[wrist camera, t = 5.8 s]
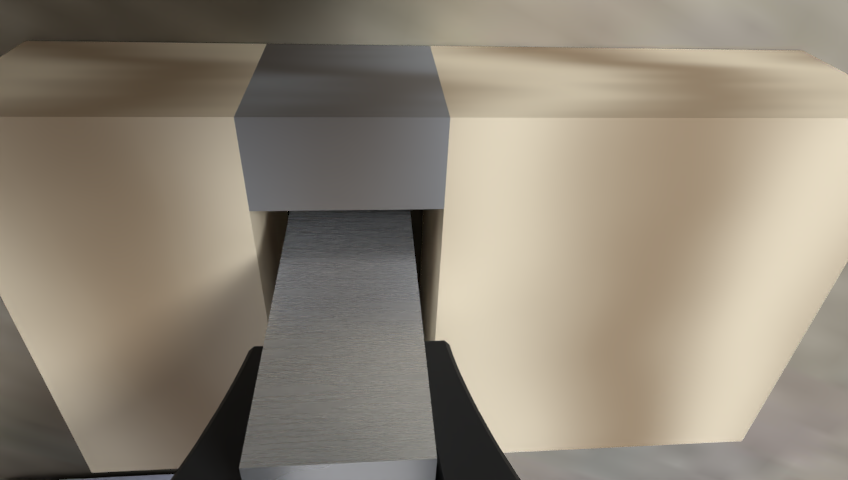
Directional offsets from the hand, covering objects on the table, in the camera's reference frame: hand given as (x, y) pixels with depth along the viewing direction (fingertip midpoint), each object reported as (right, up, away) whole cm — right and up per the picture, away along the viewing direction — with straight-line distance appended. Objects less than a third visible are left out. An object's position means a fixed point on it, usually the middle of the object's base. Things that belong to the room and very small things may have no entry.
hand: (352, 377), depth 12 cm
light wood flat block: (+2, +3, +5) cm, 6 cm away
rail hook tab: (0, +2, +3) cm, 3 cm away
